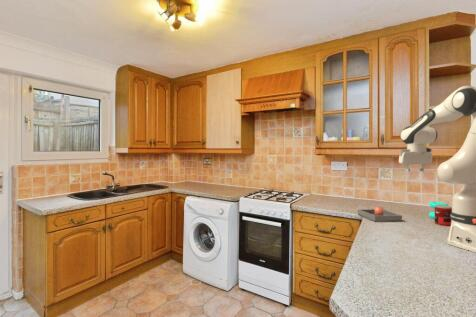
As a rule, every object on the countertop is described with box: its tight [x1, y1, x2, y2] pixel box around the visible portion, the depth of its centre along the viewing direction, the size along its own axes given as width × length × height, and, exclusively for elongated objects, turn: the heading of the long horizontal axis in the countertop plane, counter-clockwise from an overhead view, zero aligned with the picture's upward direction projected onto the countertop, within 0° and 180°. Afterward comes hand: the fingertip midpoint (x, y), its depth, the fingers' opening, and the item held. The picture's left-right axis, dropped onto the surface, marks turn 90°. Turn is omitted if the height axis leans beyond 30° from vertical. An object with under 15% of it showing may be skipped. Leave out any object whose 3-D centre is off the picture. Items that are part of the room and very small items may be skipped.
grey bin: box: [357, 208, 403, 223], centre depth 165 cm, size 18×18×4 cm
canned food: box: [433, 205, 452, 227], centre depth 151 cm, size 8×8×11 cm
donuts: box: [428, 201, 449, 219], centre depth 166 cm, size 10×10×10 cm
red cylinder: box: [374, 206, 384, 216], centre depth 165 cm, size 5×5×6 cm
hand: (415, 171), depth 158 cm, fingers open, 8 cm apart
